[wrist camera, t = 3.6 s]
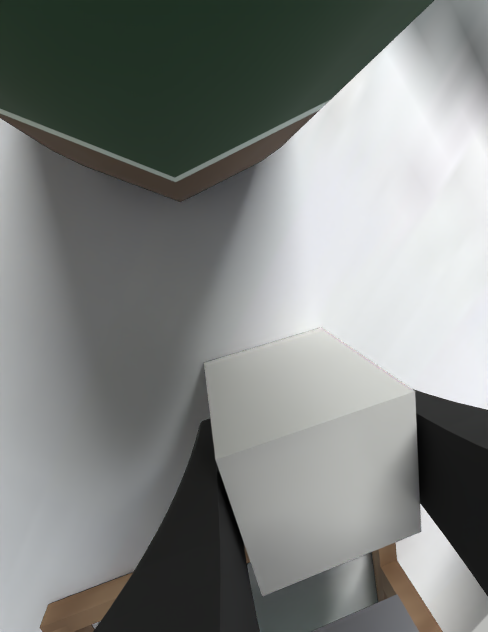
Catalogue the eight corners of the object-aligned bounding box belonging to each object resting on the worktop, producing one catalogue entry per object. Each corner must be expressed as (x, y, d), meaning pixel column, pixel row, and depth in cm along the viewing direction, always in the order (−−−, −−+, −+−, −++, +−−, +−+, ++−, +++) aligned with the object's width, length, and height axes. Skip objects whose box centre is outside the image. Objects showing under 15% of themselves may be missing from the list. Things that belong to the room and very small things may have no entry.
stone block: (321, 327, 11) (415, 391, 7) (336, 424, 13) (421, 531, 8) (203, 362, 11) (215, 459, 6) (234, 459, 12) (262, 596, 8)
